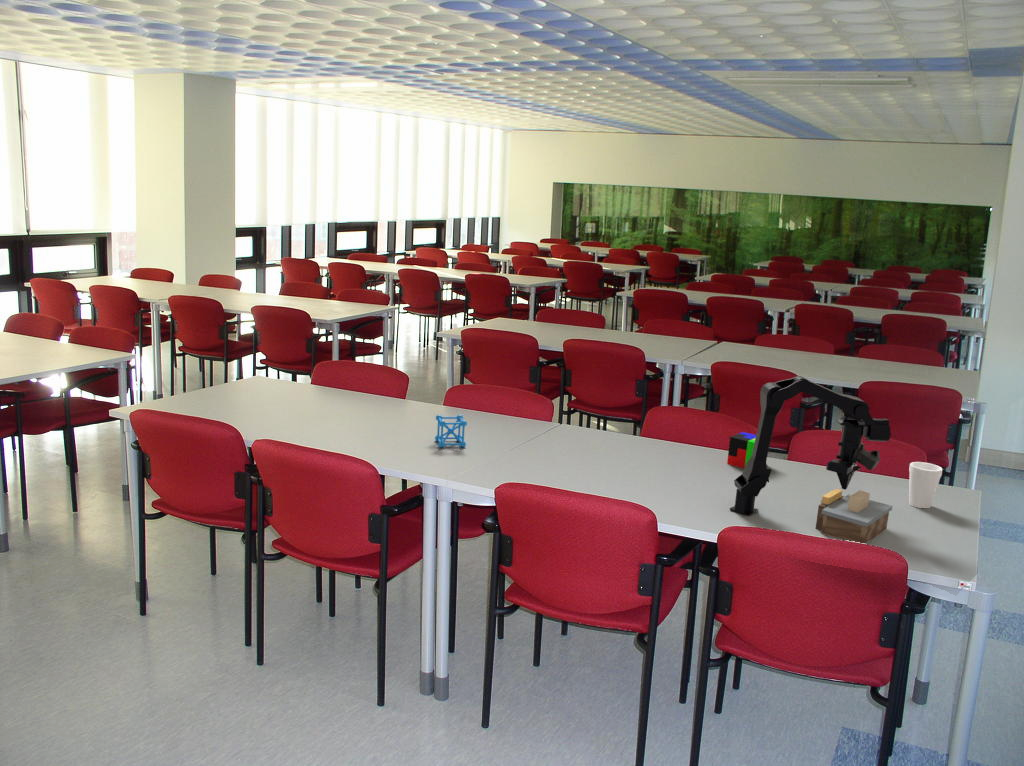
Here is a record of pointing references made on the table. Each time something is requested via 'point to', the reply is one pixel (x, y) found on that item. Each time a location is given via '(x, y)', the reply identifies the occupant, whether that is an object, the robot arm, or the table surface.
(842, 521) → the brown wooden box
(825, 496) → the yellow wooden bar
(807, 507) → the table surface
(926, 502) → the foam cup
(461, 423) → the molecular structure
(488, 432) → the table surface
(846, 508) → the lid
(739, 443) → the puzzle toy
